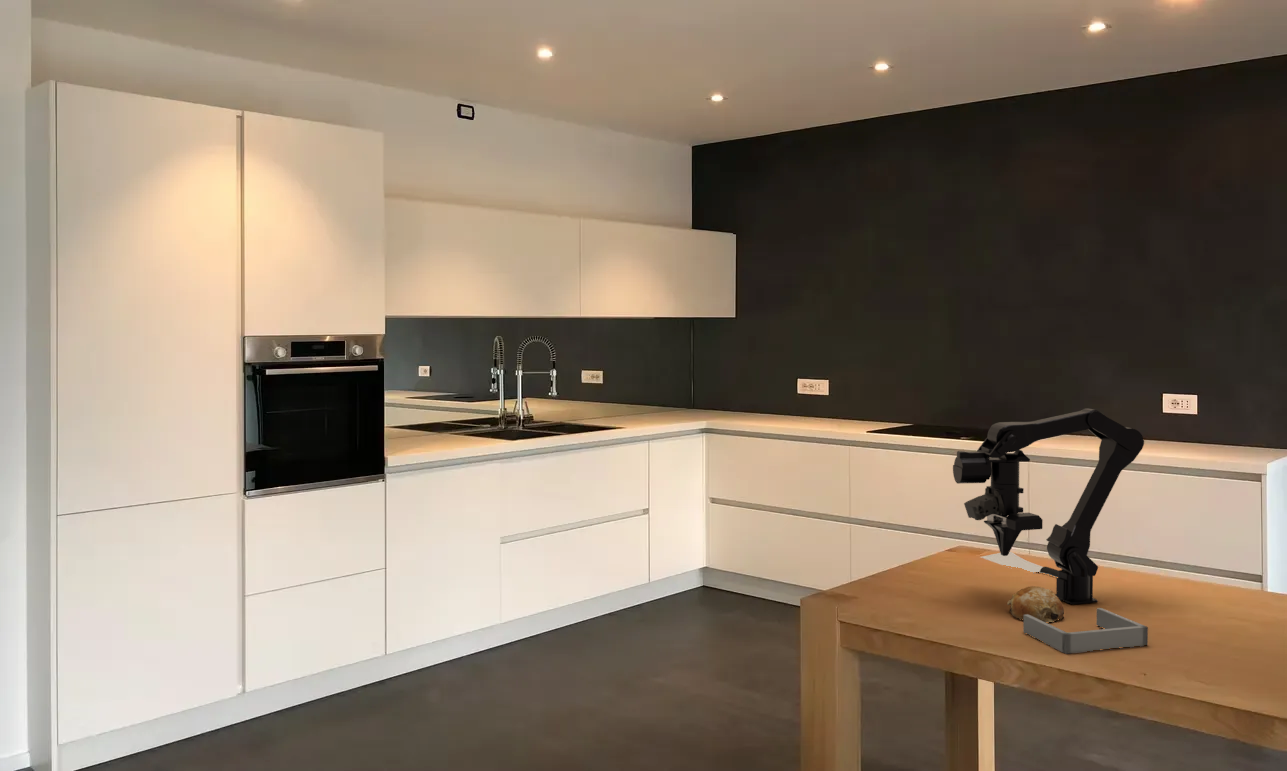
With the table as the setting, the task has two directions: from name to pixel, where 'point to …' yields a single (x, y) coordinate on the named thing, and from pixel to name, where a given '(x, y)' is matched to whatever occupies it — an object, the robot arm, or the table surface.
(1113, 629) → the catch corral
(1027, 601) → the bread roll
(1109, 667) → the table surface
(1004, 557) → the kitchen cleaver
